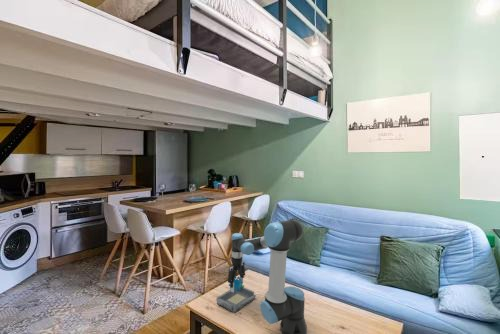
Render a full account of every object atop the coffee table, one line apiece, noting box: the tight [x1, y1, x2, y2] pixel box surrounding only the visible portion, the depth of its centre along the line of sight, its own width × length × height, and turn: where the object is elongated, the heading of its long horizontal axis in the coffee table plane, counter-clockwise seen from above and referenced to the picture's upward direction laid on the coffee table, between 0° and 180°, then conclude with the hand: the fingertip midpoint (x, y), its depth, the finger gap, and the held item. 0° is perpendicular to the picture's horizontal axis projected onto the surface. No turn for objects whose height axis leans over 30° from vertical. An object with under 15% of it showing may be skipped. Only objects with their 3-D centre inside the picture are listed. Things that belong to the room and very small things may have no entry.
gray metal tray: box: [216, 286, 257, 314], centre depth 171 cm, size 17×23×4 cm
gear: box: [228, 275, 245, 292], centre depth 172 cm, size 11×6×10 cm
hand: (236, 289), depth 171 cm, fingers closed on gear, 8 cm apart
